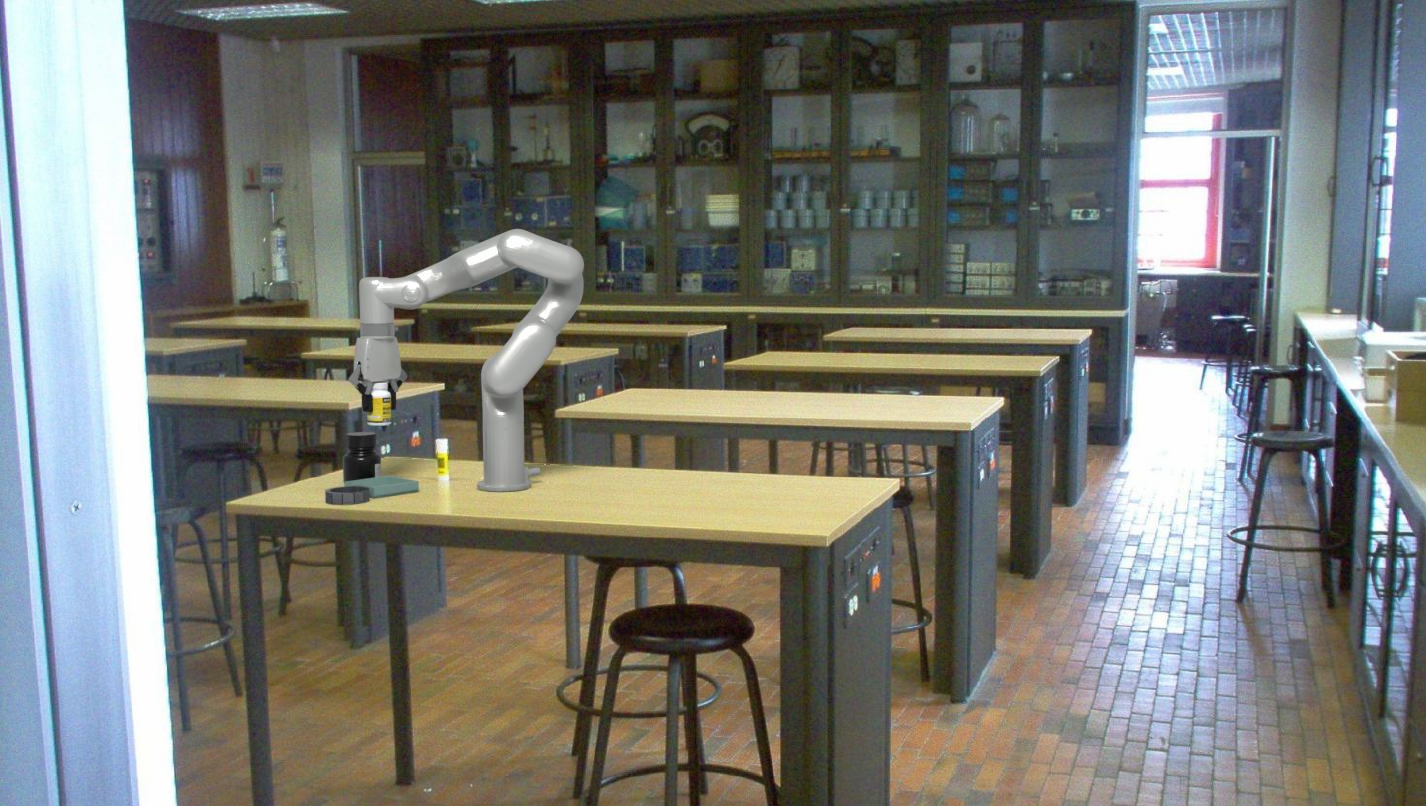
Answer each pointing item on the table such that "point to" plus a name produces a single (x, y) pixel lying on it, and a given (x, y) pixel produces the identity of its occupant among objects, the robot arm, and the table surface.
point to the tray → (386, 486)
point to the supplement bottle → (380, 405)
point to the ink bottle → (361, 457)
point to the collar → (347, 495)
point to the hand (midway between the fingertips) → (379, 409)
